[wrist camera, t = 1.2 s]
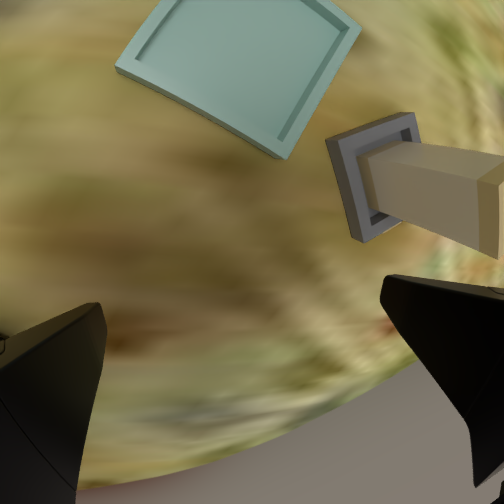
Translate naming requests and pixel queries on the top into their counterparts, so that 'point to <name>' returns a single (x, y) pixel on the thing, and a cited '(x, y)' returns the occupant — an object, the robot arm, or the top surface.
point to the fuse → (439, 191)
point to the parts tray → (243, 62)
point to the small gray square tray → (348, 175)
